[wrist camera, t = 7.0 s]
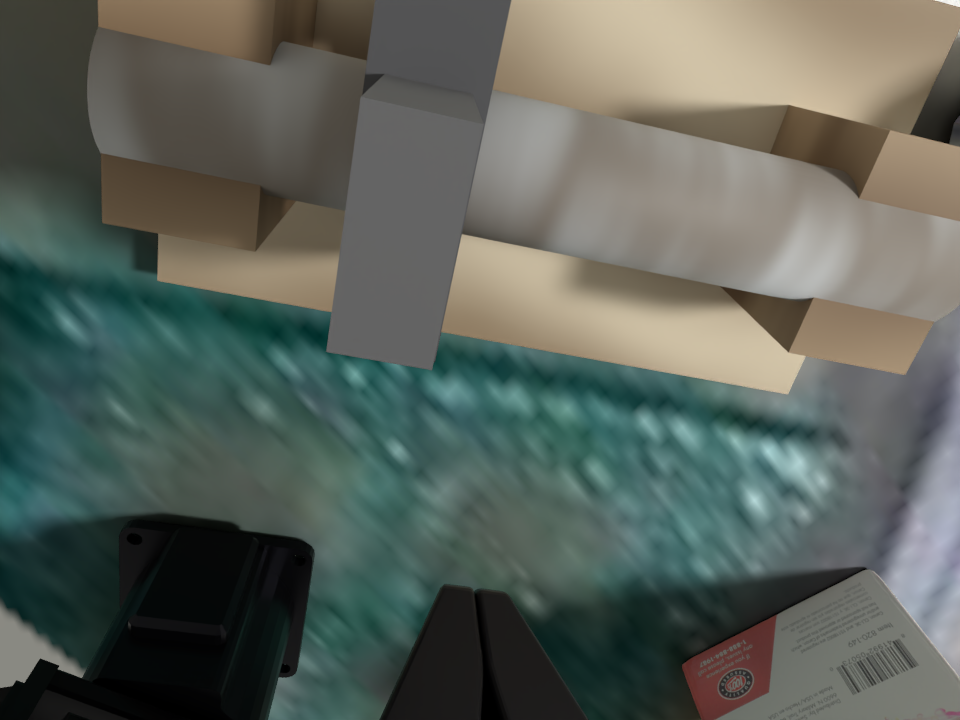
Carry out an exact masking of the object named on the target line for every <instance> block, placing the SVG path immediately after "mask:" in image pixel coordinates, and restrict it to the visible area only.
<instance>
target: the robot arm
mask: <svg viewBox="0 0 960 720" xmlns="http://www.w3.org/2000/svg"><path fill="white" fill-rule="evenodd" d="M133 533H135V534H138V535H140V536H141V537H137V536H135V535H134V534H133ZM295 555H301V556H303V557H304V558H298V557H296V556H295ZM314 556H315V553H314V549H313V548H312V546H310V545H309V544H308V543H304V542H300V541H292V540H285V539H278V538H270V537H263V536H255V535H248V534H240V533H233V532H225V531H218V530H210V529H203V528H196V527H188V526H181V525H173V524H166V523H158V522H151V521H143V520H132V521H129V522H128V523H127V524H126V525H125V526H124V528H123V529H122V531H121V532H120V536H119V572H120V610H119V611H118V613H117V615H116V617H115V619H114V621H113V622H112V624H111V626H110V628H109V630H108V631H107V633H106V635H105V637H104V639H103V641H102V642H101V644H100V646H99V648H98V650H97V652H96V653H95V655H94V657H93V659H92V661H91V662H90V664H89V666H88V668H87V670H86V672H85V673H84V675H83V677H82V678H80V677H77V676H74V675H72V674H69V673H66V672H64V671H61V670H58V667H59V666H58V665H56V664H53V663H50V662H48V661H45V660H42V659H40V660H39V661H38V663H37V664H36V666H35V667H34V669H33V671H32V672H31V674H30V675H29V677H28V679H27V680H26V682H25V683H23V682H20V681H16V682H15V683H14V685H13V686H11V687H4V688H0V720H268V717H269V713H270V709H271V705H272V701H273V697H274V693H275V689H276V685H277V681H278V677H282V678H283V677H290V676H293V675H294V674H295V673H296V671H297V667H298V663H299V657H300V650H301V644H302V637H303V630H304V623H305V616H306V610H307V603H308V596H309V589H310V583H311V576H312V569H313V562H314ZM285 664H286V665H285ZM380 720H588V718H587V717H586V715H585V713H584V712H583V710H582V709H581V707H580V706H579V704H578V703H577V701H576V699H575V698H574V696H573V695H572V693H571V692H570V690H569V688H568V687H567V685H566V684H565V682H564V681H563V679H562V677H561V676H560V674H559V673H558V671H557V670H556V668H555V666H554V665H553V663H552V662H551V660H550V659H549V657H548V655H547V654H546V652H545V651H544V649H543V648H542V646H541V644H540V643H539V641H538V640H537V638H536V637H535V635H534V633H533V632H532V630H531V629H530V627H529V626H528V624H527V623H526V621H525V619H524V618H523V616H522V615H521V613H520V612H519V610H518V608H517V607H516V605H515V604H514V602H513V601H512V599H511V597H510V596H509V595H508V594H507V593H505V592H503V591H496V590H489V589H477V590H475V592H474V591H473V589H472V588H470V587H465V586H458V585H450V584H445V585H443V586H442V587H441V588H440V590H439V592H438V594H437V596H436V599H435V601H434V603H433V605H432V607H431V609H430V612H429V614H428V616H427V618H426V620H425V622H424V625H423V627H422V629H421V631H420V633H419V635H418V638H417V640H416V642H415V644H414V646H413V648H412V651H411V653H410V655H409V657H408V659H407V661H406V664H405V666H404V668H403V670H402V672H401V674H400V677H399V679H398V681H397V683H396V685H395V687H394V690H393V692H392V694H391V696H390V698H389V700H388V703H387V705H386V707H385V709H384V711H383V713H382V716H381V718H380Z"/></svg>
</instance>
